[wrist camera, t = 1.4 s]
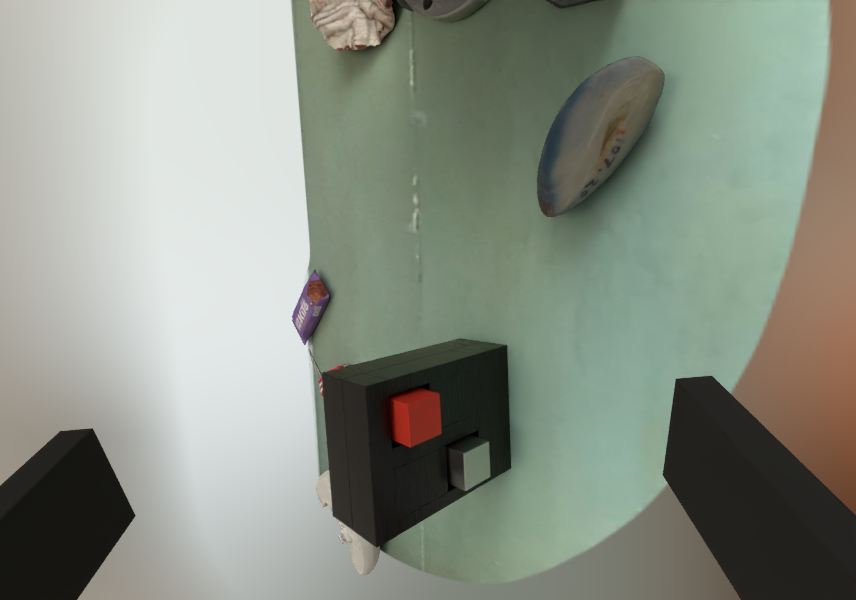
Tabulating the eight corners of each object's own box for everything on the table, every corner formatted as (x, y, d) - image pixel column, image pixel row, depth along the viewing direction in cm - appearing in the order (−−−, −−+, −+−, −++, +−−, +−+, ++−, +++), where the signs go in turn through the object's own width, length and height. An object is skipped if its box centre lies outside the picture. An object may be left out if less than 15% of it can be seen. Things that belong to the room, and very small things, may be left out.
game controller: (310, 496, 70) (306, 467, 63) (336, 481, 72) (335, 451, 65) (357, 586, 63) (359, 565, 56) (385, 566, 65) (389, 543, 58)
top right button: (439, 393, 35) (407, 404, 32) (441, 434, 35) (410, 447, 33) (413, 385, 37) (381, 396, 35) (415, 424, 37) (384, 436, 35)
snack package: (298, 347, 69) (286, 321, 71) (310, 344, 70) (297, 319, 73) (323, 295, 62) (308, 269, 64) (335, 294, 63) (320, 268, 66)
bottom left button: (489, 441, 39) (463, 453, 37) (490, 476, 39) (465, 491, 37) (463, 432, 41) (437, 443, 39) (464, 466, 41) (439, 479, 39)
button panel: (507, 345, 43) (365, 386, 32) (511, 468, 44) (376, 548, 33) (459, 338, 47) (321, 372, 36) (464, 450, 48) (332, 516, 37)
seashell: (515, 218, 37) (577, 202, 27) (525, 102, 36) (592, 42, 26) (587, 225, 38) (672, 212, 28) (598, 112, 37) (688, 59, 28)
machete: (308, 354, 72) (305, 354, 72) (311, 348, 71) (308, 349, 71) (345, 431, 66) (342, 432, 65) (349, 425, 65) (346, 426, 64)
